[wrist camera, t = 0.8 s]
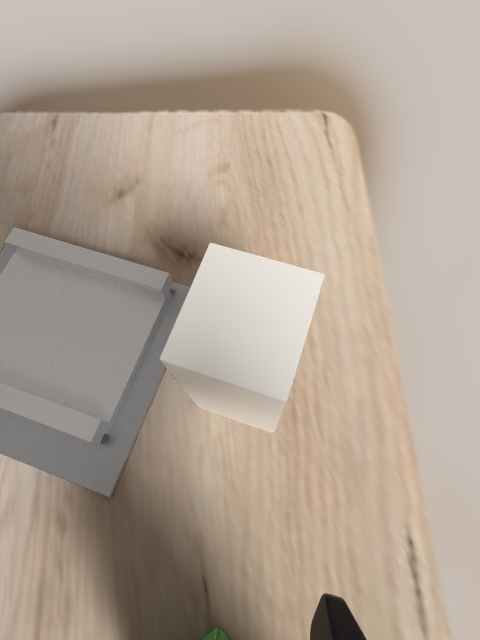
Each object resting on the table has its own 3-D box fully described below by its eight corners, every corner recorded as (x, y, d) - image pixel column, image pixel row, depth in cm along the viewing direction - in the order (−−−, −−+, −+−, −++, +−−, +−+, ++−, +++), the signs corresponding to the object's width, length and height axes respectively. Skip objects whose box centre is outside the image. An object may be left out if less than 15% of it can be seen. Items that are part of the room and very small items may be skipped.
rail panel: (111, 496, 21) (96, 499, 19) (-98, 412, 23) (-132, 406, 21) (198, 291, 26) (193, 275, 24) (15, 236, 28) (-4, 217, 26)
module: (273, 433, 22) (286, 401, 13) (198, 407, 23) (159, 359, 14) (298, 353, 24) (325, 274, 15) (227, 331, 25) (209, 242, 15)
